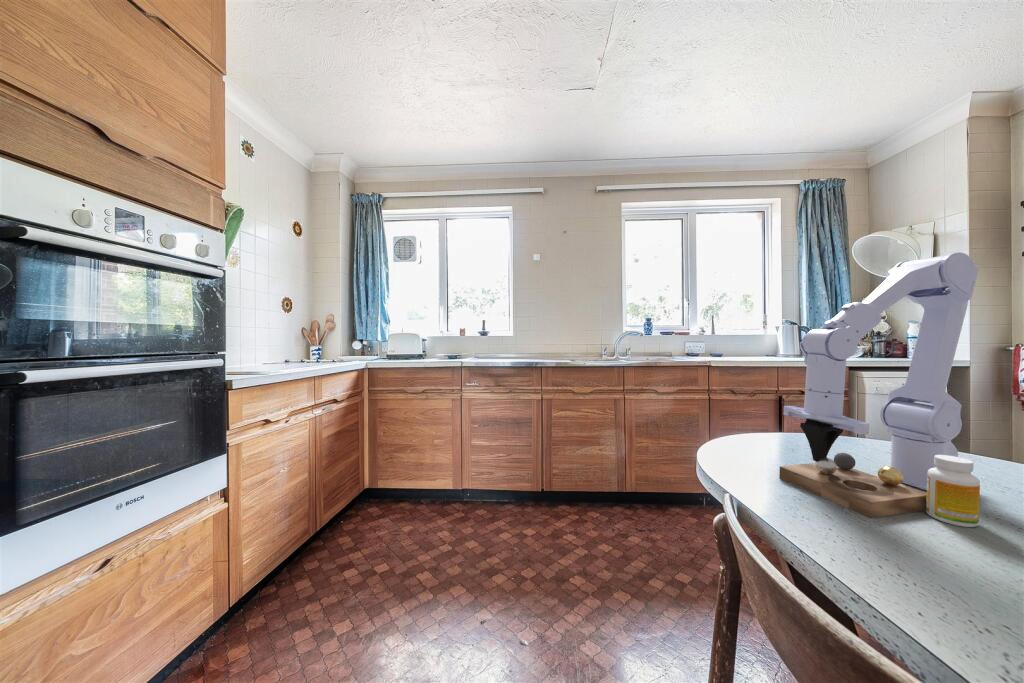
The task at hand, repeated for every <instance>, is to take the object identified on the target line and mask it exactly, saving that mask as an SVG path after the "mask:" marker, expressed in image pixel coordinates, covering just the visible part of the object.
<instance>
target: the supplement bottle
mask: <svg viewBox="0 0 1024 683" xmlns="http://www.w3.org/2000/svg"><path fill="white" fill-rule="evenodd" d="M934 464H935V465H936V467H935V468H931V469H929V470H928V473H927V490H926V493H927V497H926V510H925V511H926V512H925V513H926V514H927V515H928V516H930V517H931V518H933V519H935V520H938V521H941V522H943V523H947V524H950V525H953V526H957V527H963V528H976V527H978V526H979V522H980V498H981V496H980V492H981V490H980V489H981V482H980V479H979V478H978V477H977V476H976V475H974V474H973V472H974V461H973V460H970V459H967V458H963V457H959V456H958V457H955V456H948V455H935V456H934Z"/></svg>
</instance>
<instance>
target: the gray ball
mask: <svg viewBox="0 0 1024 683" xmlns="http://www.w3.org/2000/svg"><path fill="white" fill-rule="evenodd" d="M833 461H834V462H835V463H836V465H837V466H838V467H839V468H841V469H844V470H849V469H852V468H853V469H854V468H855V466H856V459H855V458H854V456H852V455H851V454H849V453H847V452H838V453H837V454H835V455H834V456H833Z"/></svg>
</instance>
